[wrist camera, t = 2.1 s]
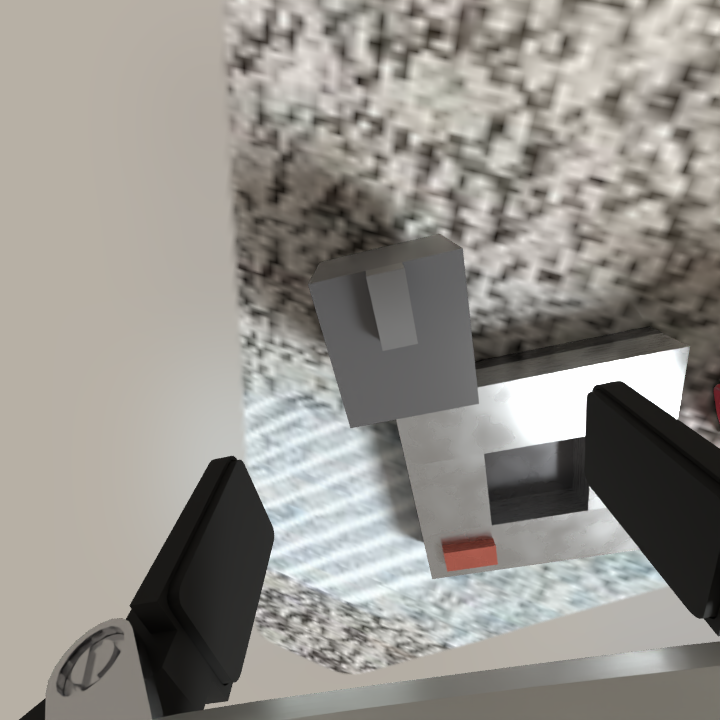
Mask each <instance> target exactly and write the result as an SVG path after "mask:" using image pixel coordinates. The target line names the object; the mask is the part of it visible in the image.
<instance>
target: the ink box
mask: <svg viewBox="0 0 720 720" xmlns="http://www.w3.org/2000/svg"><path fill="white" fill-rule="evenodd" d="M713 392H714V398H715V404H716V411H717V416H718V419H719V423H720V384H717V385H716V386H715V387H714V391H713Z"/></svg>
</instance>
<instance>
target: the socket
mask: <svg viewBox="0 0 720 720" xmlns="http://www.w3.org/2000/svg"><path fill="white" fill-rule="evenodd" d="M689 349H690V346H688V345H686V344H684V343H682V342H680V341H678V340H676V339H674V338H672V337H670V336H668V335H666V334H664V333H662V332H659V331H657V330H655V329H653V328H651V327H645V328H640V329H635V330H630V331H625V332H620V333H615V334H610V335H605V336H600V337H595V338H590V339H585V340H580V341H576V342H571V343H566V344H561V345H556V346H551V347H546V348H541V349H536V350H531V351H526V352H521V353H516V354H511V355H506V356H501V357H496V358H491V359H486V360H481V361H476V362H475V369H476V378H477V388H478V397H479V404H476V405H470V406H465V407H460V408H454V409H449V410H444V411H439V412H433V413H428V414H423V415H417V416H412V417H407V418H401V419H396V422H397V426H398V430H399V435H400V439H401V444H402V448H403V452H404V457H405V461H406V466H407V470H408V474H409V479H410V483H411V487H412V492H413V496H414V501H415V505H416V509H417V514H418V518H419V523H420V527H421V531H422V536H423V540H424V545H425V549H426V553H427V558H428V562H429V567H430V571H431V575H432V579H436V578H443V577H450V576H457V575H464V574H471V573H478V572H485V571H492V570H499V569H506V568H513V567H520V566H527V565H535V564H542V563H549V562H556V561H563V560H570V559H577V558H584V557H591V556H598V555H605V554H612V553H619V552H626V551H633V550H640V549H639V548H638V546H637V545H636V544H635V543H634V541H633V540H632V539H631V538H630V536H629V535H628V534H627V533H626V531H625V530H624V529H623V528H622V526H621V525H620V524H619V523H618V521H617V520H616V519H615V518H614V516H613V515H612V514H611V513H610V511H609V510H608V509H607V508H606V506H605V505H604V504H603V503H602V501H601V500H600V499H599V498H598V496H597V495H596V494H595V493H594V491H593V490H592V489H591V488H590V486H589V485H588V483H587V480H586V478H585V472H584V469H585V427H586V396H587V393H588V392H591V391H592V388H593V387H594V386H595V385H597V384H602V383H607V382H613V381H623V382H625V383H626V384H627V385H629V386H630V387H632V388H633V389H635V390H636V391H637V392H639V393H640V394H642V395H643V396H645V397H646V398H648V399H649V400H650V401H652V402H653V403H655V404H656V405H658V406H659V407H660V408H662V409H663V410H665V411H666V412H668V413H669V414H671V415H672V416H673V417H675V418H676V419H678V413H679V408H680V402H681V396H682V390H683V384H684V378H685V373H686V367H687V361H688V355H689Z"/></svg>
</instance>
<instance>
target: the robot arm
mask: <svg viewBox="0 0 720 720" xmlns="http://www.w3.org/2000/svg"><path fill="white" fill-rule="evenodd" d="M584 472H585V478H586V480H587V483H588V485H589V486H590V488H591V489H592V490H593V491H594V493H595V494H596V495H597V496H598V498H599V499H600V500H601V501H602V503H603V504H604V505H605V506H606V508H607V509H608V510H609V511H610V513H611V514H612V515H613V516H614V518H615V519H616V520H617V521H618V523H619V524H620V525H621V526H622V528H623V529H624V530H625V531H626V533H627V534H628V535H629V536H630V538H631V539H632V540H633V541H634V543H635V544H636V545H637V546H638V548H639V549H640V550H641V551H642V553H643V554H644V555H645V556H646V558H647V559H648V560H649V561H650V563H651V564H652V565H653V566H654V568H655V569H656V570H657V571H658V573H659V574H660V575H661V576H662V578H663V579H664V580H665V581H666V583H667V584H668V585H669V586H670V588H671V589H672V590H673V591H674V592H675V594H676V595H677V596H678V598H679V599H680V600H681V601H682V603H683V604H684V605H685V606H686V608H687V609H688V610H689V611H690V612H691V613H692V614H693V615H694V616H695V617H697V618H699V619H700V618H704V620H706V622H707V623H708V624H709V626H710V627H711V628H712V629H713V631H714V632H715V633H716V634H717V635H718V636H720V449H719V448H718V447H717V446H715V445H714V444H712V443H711V442H709V441H708V440H706V439H705V438H704V437H702V436H701V435H699V434H698V433H696V432H695V431H694V430H692V429H691V428H689V427H688V426H686V425H685V424H683V423H682V422H681V421H679V420H678V419H676V418H675V417H673V416H672V415H671V414H669V413H668V412H666V411H665V410H663V409H662V408H660V407H659V406H658V405H656V404H655V403H653V402H652V401H650V400H649V399H648V398H646V397H645V396H643V395H642V394H640V393H639V392H637V391H636V390H635V389H633V388H632V387H630V386H629V385H627V384H626V383H625V382H623V381H613V382H607V383H602V384H597V385H595V386H594V387H593V388H592V391H591V392H588V393H587V396H586V427H585V469H584ZM273 542H274V530H273V526H272V524H271V522H270V520H269V518H268V515H267V513H266V511H265V509H264V507H263V504H262V502H261V500H260V498H259V495H258V493H257V491H256V489H255V487H254V484H253V482H252V480H251V478H250V476H249V473H248V471H247V469H246V467H245V465H244V463H243V461H242V460H237V459H236V458H235V457H234V456H229V457H224V458H219V459H214V460H212V461H211V462H210V463H209V465H208V467H207V469H206V470H205V472H204V474H203V476H202V478H201V479H200V481H199V483H198V485H197V486H196V488H195V490H194V492H193V494H192V495H191V497H190V499H189V501H188V502H187V504H186V506H185V508H184V510H183V511H182V513H181V515H180V517H179V519H178V520H177V522H176V524H175V526H174V527H173V530H172V531H171V533H170V535H169V536H168V538H167V540H166V542H165V543H164V545H163V547H162V549H161V551H160V552H159V554H158V556H157V558H156V560H155V561H154V563H153V565H152V566H151V568H150V570H149V572H148V574H147V576H146V577H145V579H144V581H143V583H142V584H141V586H140V588H139V590H138V591H137V593H136V595H135V597H134V599H133V601H132V602H131V604H130V607H131V611H130V613H129V615H128V616H127V618H126V620H125V619H123V618H119V619H118V618H117V619H111V620H108V621H106V622H103V623H101V624H99V625H97V626H95V627H94V628H92V629H91V630H89V631H88V632H86V633H85V634H84V635H83V636H82V637H80V638H79V639H78V640H77V641H76V642H75V643H74V644H73V645H72V646H71V647H70V648H69V649H68V650H67V651H66V653H65V654H64V655H63V656H62V658H61V659H60V661H59V662H58V664H57V665H56V666H55V668H54V670H53V672H52V674H51V676H50V679H49V681H48V685H47V690H46V698H45V699H44V700H43V701H42V702H40V703H39V704H38V705H37V706H35V707H34V708H33V709H32V710H30V711H29V712H28V713H27V714H26V715H24V716H23V717H22V718H21V719H19V720H720V642H712V643H702V644H693V645H683V646H676V647H667V648H660V649H651V650H643V651H635V652H627V653H620V654H611V655H604V656H596V657H588V658H579V659H572V660H563V661H556V662H548V663H539V664H532V665H525V666H517V667H509V668H501V669H494V670H486V671H478V672H471V673H464V674H455V675H448V676H441V677H432V678H425V679H417V680H410V681H402V682H395V683H387V684H380V685H372V686H366V687H358V688H350V689H344V690H336V691H329V692H321V693H314V694H307V695H300V696H292V697H285V698H278V699H270V700H264V701H256V702H249V703H244V704H237V705H231V706H224V707H219V708H212V709H205V710H204V706H205V704H209V703H217V702H225V701H228V699H229V695H230V692H231V687H232V684H233V682H236V681H237V680H238V679H239V677H240V674H241V671H242V667H243V663H244V659H245V655H246V651H247V647H248V643H249V639H250V635H251V631H252V627H253V623H254V619H255V614H256V610H257V606H258V602H259V598H260V594H261V590H262V586H263V582H264V578H265V574H266V570H267V566H268V562H269V558H270V554H271V550H272V546H273Z"/></svg>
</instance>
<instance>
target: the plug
mask: <svg viewBox="0 0 720 720" xmlns="http://www.w3.org/2000/svg"><path fill="white" fill-rule="evenodd" d="M308 286H309V289H310V292H311V296H312V299H313V302H314V306H315V309H316V313H317V316H318V319H319V323H320V326H321V330H322V333H323V336H324V340H325V343H326V346H327V350H328V353H329V357H330V360H331V363H332V367H333V370H334V373H335V377H336V380H337V384H338V387H339V390H340V394H341V397H342V401H343V404H344V407H345V411H346V414H347V417H348V421H349V424H350V428H354V427H359V426H364V425H370V424H375V423H380V422H386V421H391V420H396V419H401V418H407V417H412V416H417V415H423V414H428V413H433V412H439V411H444V410H449V409H454V408H460V407H465V406H470V405H476V404H479V397H478V388H477V378H476V369H475V360H474V350H473V341H472V332H471V322H470V313H469V304H468V294H467V285H466V276H465V266H464V257H463V248H461V247H460V246H458V245H457V244H455V243H453V242H452V241H450V240H449V239H447V238H445V237H444V236H442V235H441V234H436V235H432V236H428V237H424V238H420V239H415V240H411V241H407V242H403V243H399V244H394V245H390V246H386V247H382V248H378V249H373V250H369V251H365V252H361V253H357V254H352V255H348V256H344V257H340V258H336V259H331V260H327V261H323V262H320V263H319V265H318V267H317V269H316V270H315V272H314V274H313V276H312V278H311V280H310V282H309V283H308Z"/></svg>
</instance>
